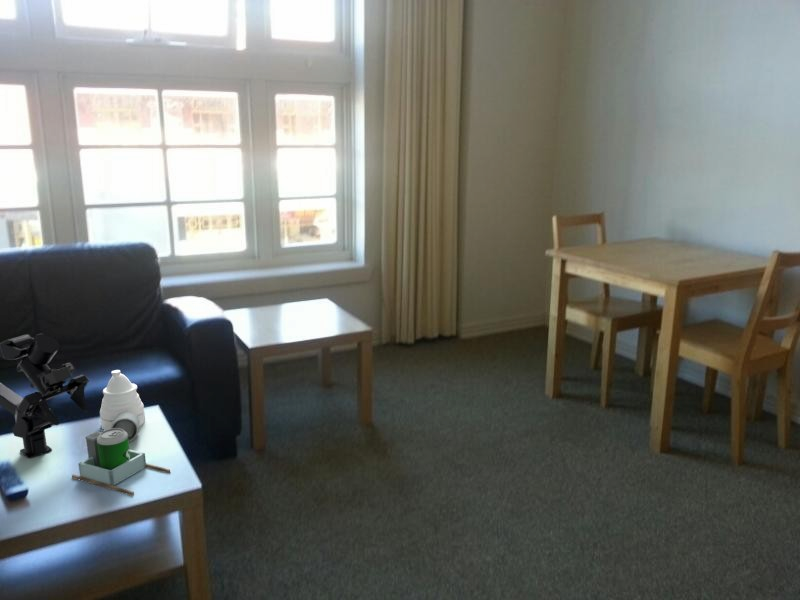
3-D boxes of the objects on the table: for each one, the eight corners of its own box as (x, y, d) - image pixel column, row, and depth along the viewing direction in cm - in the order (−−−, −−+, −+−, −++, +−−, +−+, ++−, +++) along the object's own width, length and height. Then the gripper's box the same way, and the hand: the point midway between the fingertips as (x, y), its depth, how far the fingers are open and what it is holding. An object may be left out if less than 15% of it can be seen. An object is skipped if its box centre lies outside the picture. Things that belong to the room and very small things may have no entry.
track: (72, 477, 176) (71, 475, 176) (111, 456, 188) (111, 454, 187) (132, 495, 167) (132, 492, 167) (170, 472, 179) (170, 469, 179)
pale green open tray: (77, 476, 176) (72, 442, 174) (112, 457, 187) (108, 425, 184) (112, 486, 171) (108, 452, 169) (146, 466, 181) (142, 433, 179)
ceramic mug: (141, 430, 205) (138, 406, 203) (139, 441, 197) (136, 417, 195) (103, 435, 202) (100, 411, 200) (100, 447, 194) (97, 422, 192)
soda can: (125, 481, 174) (121, 438, 172) (96, 481, 174) (91, 439, 171) (135, 467, 182) (131, 426, 179) (108, 467, 181) (103, 427, 179)
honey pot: (140, 430, 205) (134, 375, 200) (96, 433, 203) (89, 377, 198) (148, 413, 217) (143, 361, 213) (107, 416, 215) (101, 363, 211)
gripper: (19, 367, 171) (54, 414, 169) (80, 347, 187) (113, 389, 185) (3, 391, 176) (37, 437, 174) (64, 369, 192) (96, 411, 190)
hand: (73, 417), depth 181 cm, fingers open, 9 cm apart
